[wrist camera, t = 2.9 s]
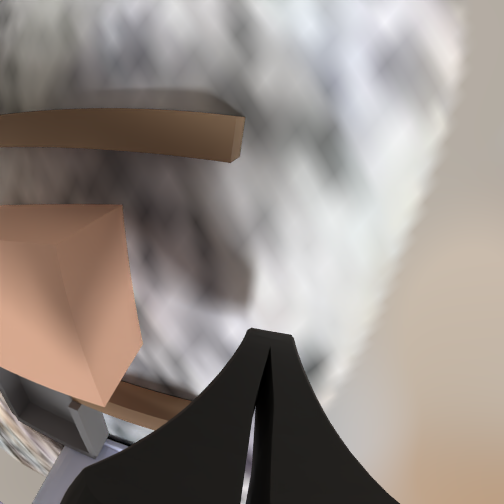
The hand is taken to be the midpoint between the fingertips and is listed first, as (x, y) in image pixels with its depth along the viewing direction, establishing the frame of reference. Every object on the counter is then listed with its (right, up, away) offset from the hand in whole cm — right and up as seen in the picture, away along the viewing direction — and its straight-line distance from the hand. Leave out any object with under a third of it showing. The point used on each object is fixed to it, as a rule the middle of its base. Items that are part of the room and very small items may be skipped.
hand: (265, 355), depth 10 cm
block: (-8, +2, +2) cm, 9 cm away
